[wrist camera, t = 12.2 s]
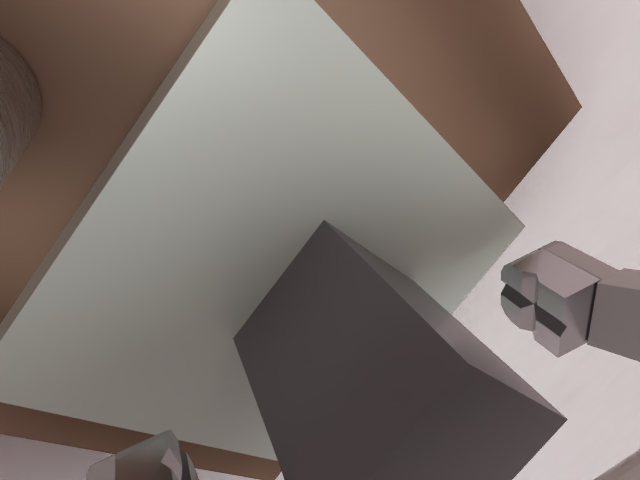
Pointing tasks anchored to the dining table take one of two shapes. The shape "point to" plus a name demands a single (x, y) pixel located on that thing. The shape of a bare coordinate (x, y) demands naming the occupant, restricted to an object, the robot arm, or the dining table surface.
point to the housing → (157, 61)
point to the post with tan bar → (16, 108)
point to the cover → (281, 272)
